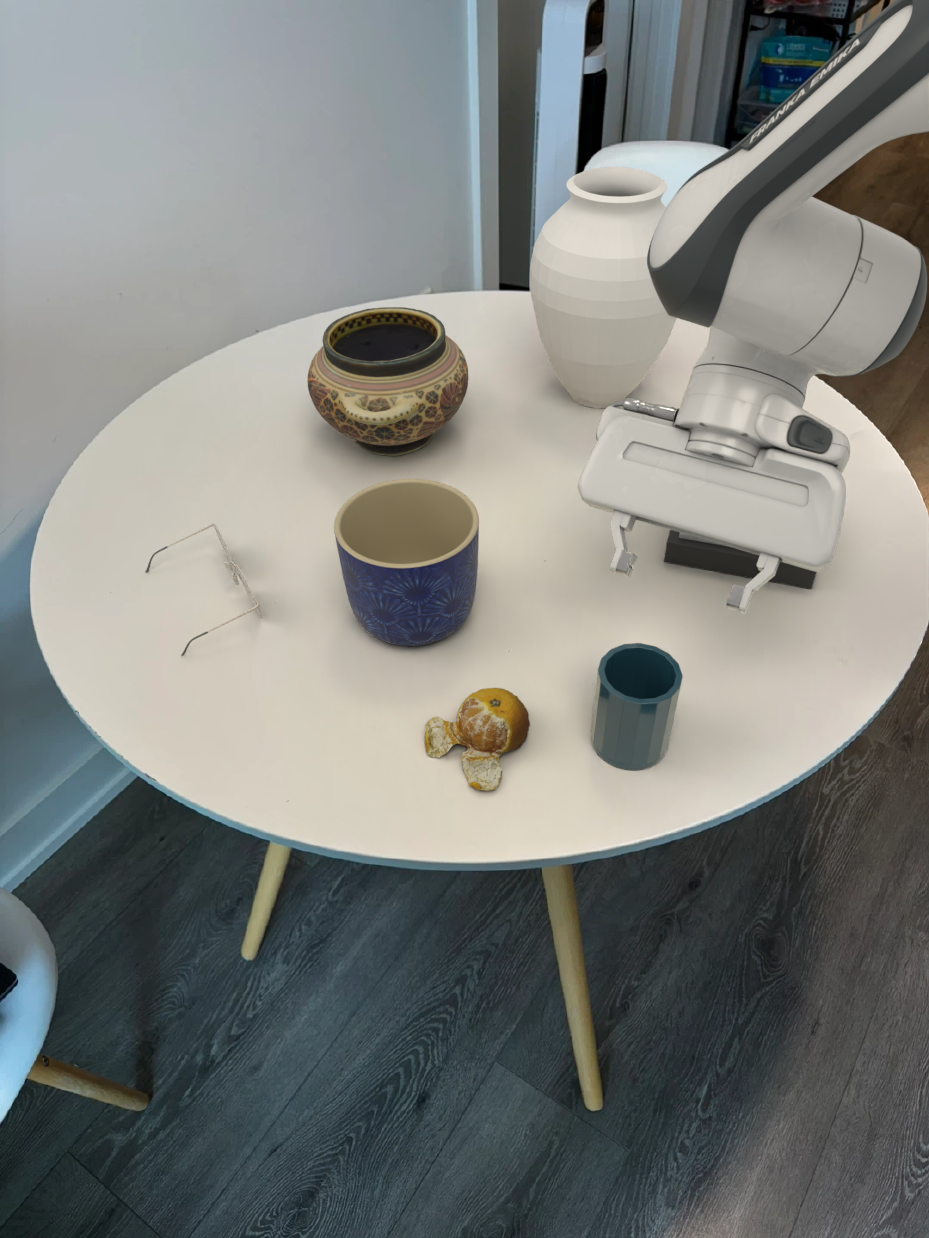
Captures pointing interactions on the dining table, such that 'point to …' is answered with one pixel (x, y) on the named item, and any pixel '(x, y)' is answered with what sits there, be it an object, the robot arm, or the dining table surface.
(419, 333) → the ceramic bowl
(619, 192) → the vase
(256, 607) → the eyeglasses
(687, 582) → the dining table surface
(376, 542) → the planter
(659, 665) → the cup
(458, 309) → the dining table surface
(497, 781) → the fruit
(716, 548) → the scale
